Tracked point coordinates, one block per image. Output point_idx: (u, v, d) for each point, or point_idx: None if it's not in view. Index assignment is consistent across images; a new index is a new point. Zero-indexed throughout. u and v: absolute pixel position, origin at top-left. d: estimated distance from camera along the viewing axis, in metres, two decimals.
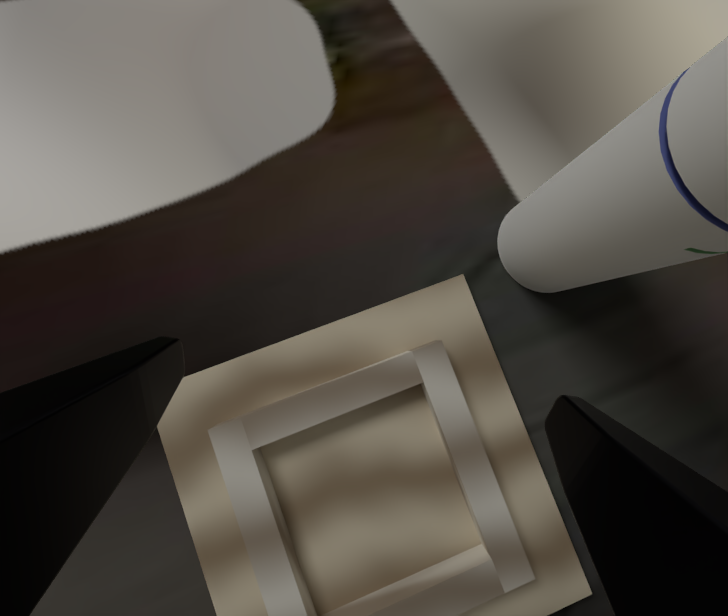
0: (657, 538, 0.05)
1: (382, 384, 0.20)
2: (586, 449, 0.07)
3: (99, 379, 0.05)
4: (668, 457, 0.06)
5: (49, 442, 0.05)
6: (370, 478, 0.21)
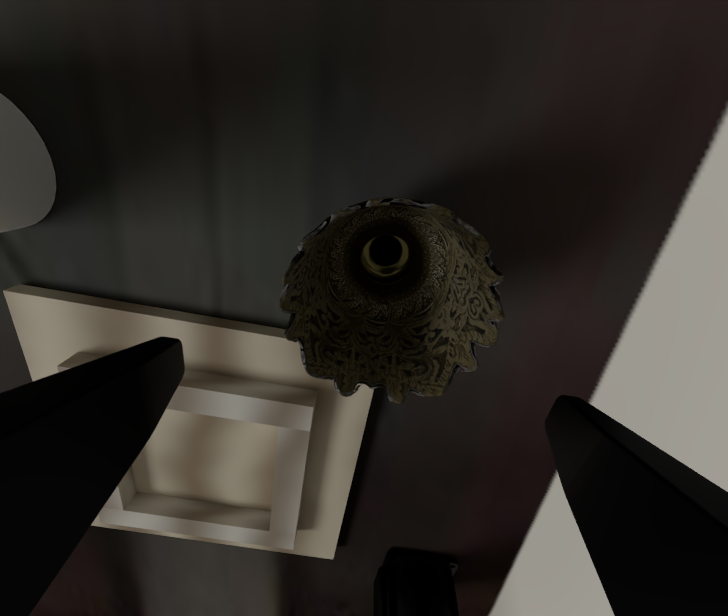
0: (656, 538, 0.05)
1: None
2: (586, 449, 0.07)
3: (99, 379, 0.05)
4: (668, 457, 0.06)
5: (49, 442, 0.05)
6: (192, 449, 0.24)
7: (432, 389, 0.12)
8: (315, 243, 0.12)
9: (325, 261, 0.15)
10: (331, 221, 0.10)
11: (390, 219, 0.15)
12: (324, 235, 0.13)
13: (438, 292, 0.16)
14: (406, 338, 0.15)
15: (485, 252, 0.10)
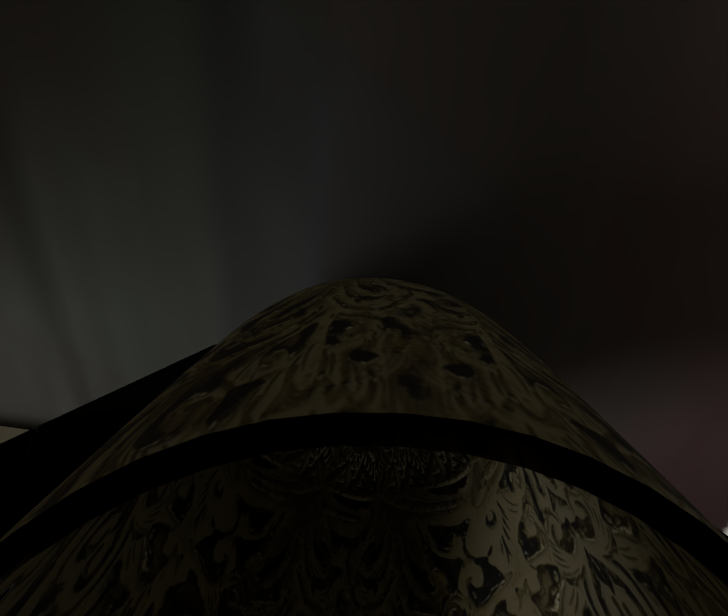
0: None
1: None
2: None
3: None
4: None
5: None
6: None
7: None
8: None
9: None
10: None
11: None
12: None
13: None
14: (416, 560, 0.07)
15: None
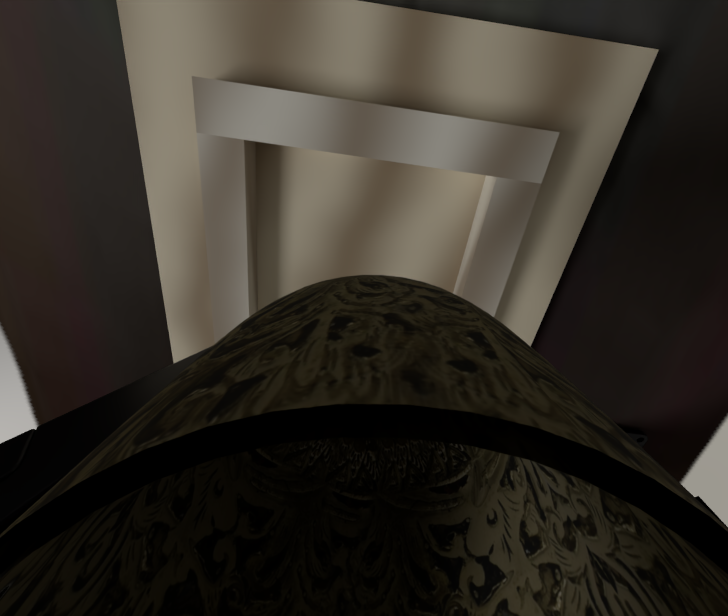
0: None
1: (229, 196, 0.15)
2: None
3: None
4: None
5: None
6: (343, 259, 0.18)
7: None
8: None
9: None
10: None
11: None
12: None
13: None
14: (417, 559, 0.07)
15: None
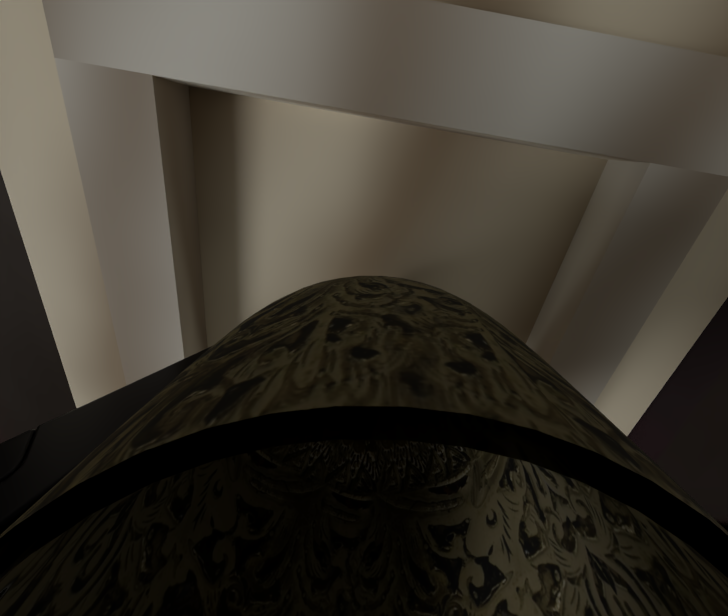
0: None
1: (134, 189, 0.08)
2: None
3: None
4: None
5: None
6: None
7: None
8: None
9: None
10: None
11: None
12: None
13: None
14: (416, 560, 0.07)
15: None
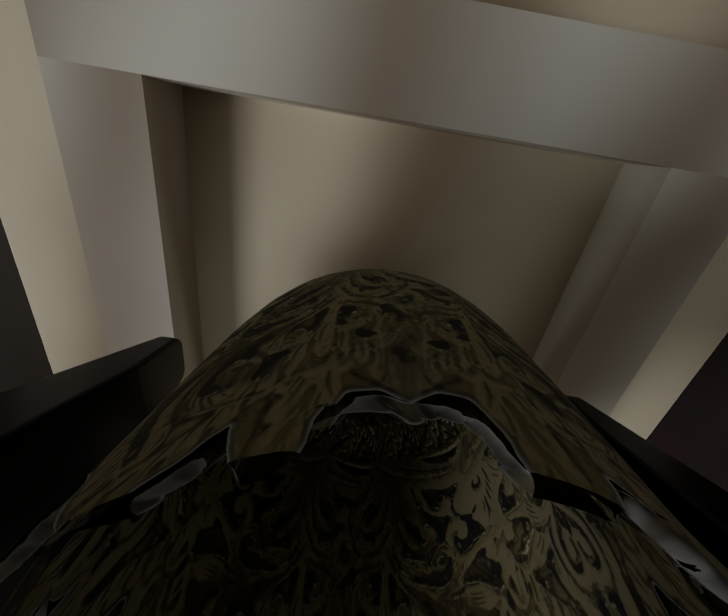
0: None
1: (124, 195, 0.08)
2: None
3: (99, 379, 0.05)
4: (668, 457, 0.06)
5: (49, 442, 0.05)
6: None
7: None
8: None
9: None
10: (86, 519, 0.02)
11: None
12: None
13: None
14: (410, 518, 0.08)
15: None
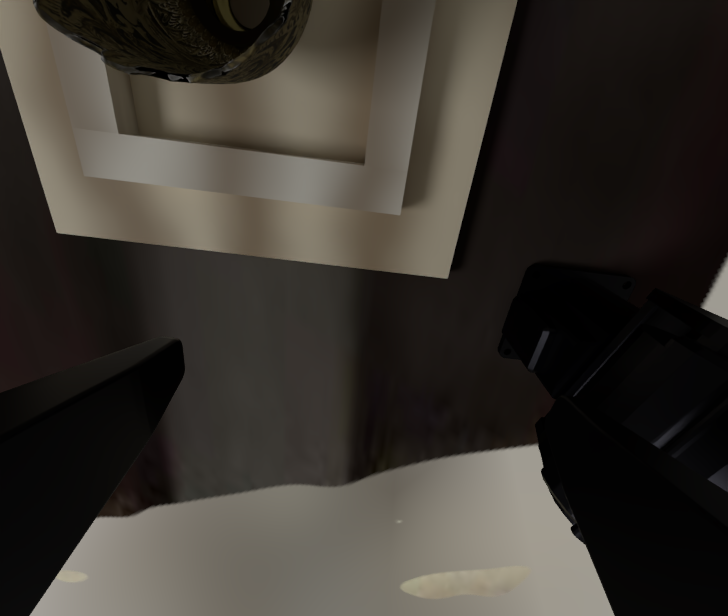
0: (658, 538, 0.05)
1: None
2: (586, 449, 0.07)
3: (99, 379, 0.05)
4: (668, 457, 0.06)
5: (49, 442, 0.05)
6: None
7: (245, 52, 0.08)
8: None
9: None
10: None
11: None
12: None
13: None
14: None
15: None
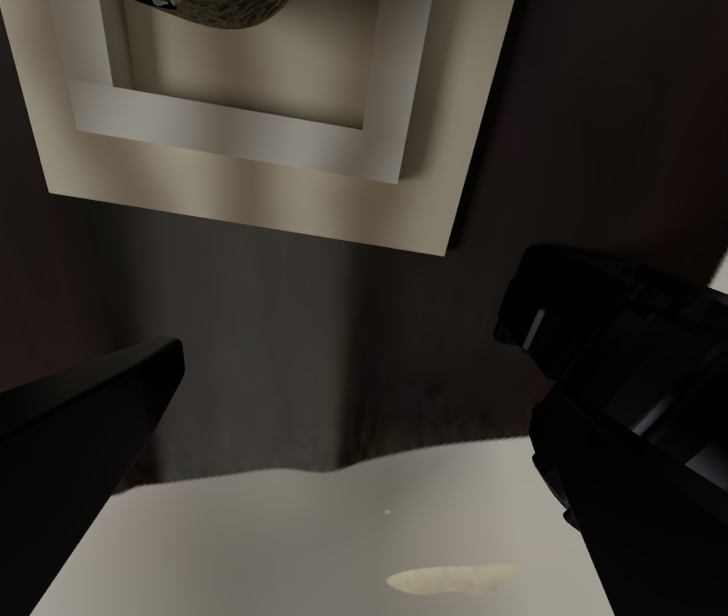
0: (657, 538, 0.05)
1: None
2: (586, 449, 0.07)
3: (99, 379, 0.05)
4: (668, 457, 0.06)
5: (49, 442, 0.05)
6: None
7: None
8: None
9: None
10: None
11: None
12: None
13: None
14: None
15: None
